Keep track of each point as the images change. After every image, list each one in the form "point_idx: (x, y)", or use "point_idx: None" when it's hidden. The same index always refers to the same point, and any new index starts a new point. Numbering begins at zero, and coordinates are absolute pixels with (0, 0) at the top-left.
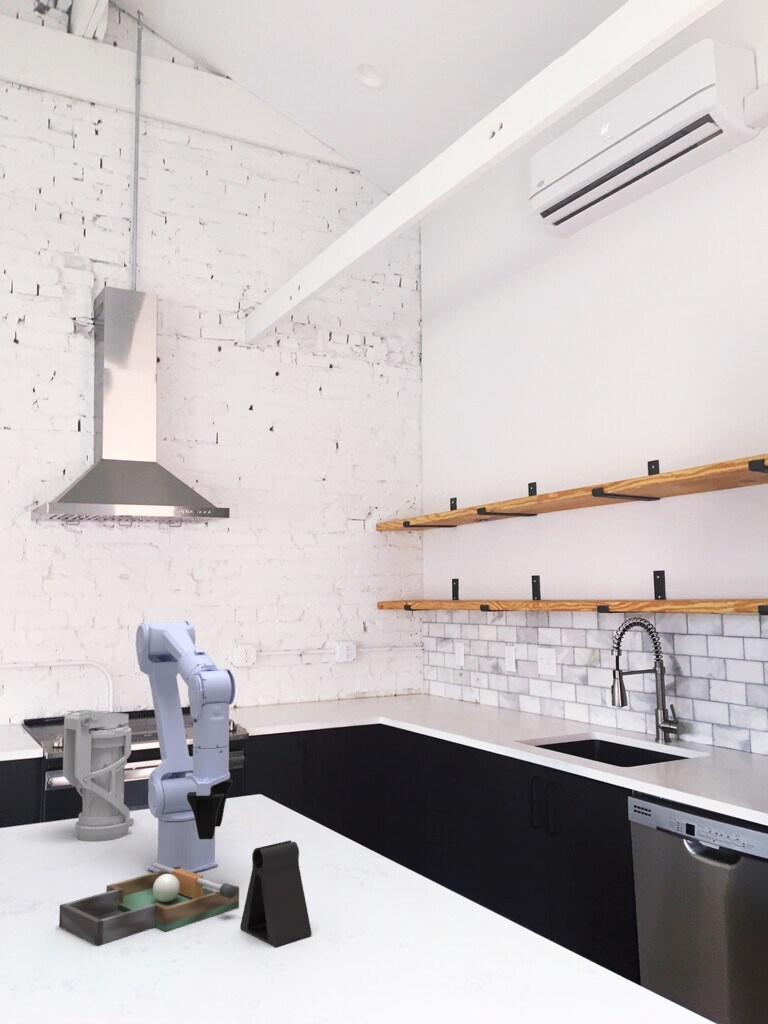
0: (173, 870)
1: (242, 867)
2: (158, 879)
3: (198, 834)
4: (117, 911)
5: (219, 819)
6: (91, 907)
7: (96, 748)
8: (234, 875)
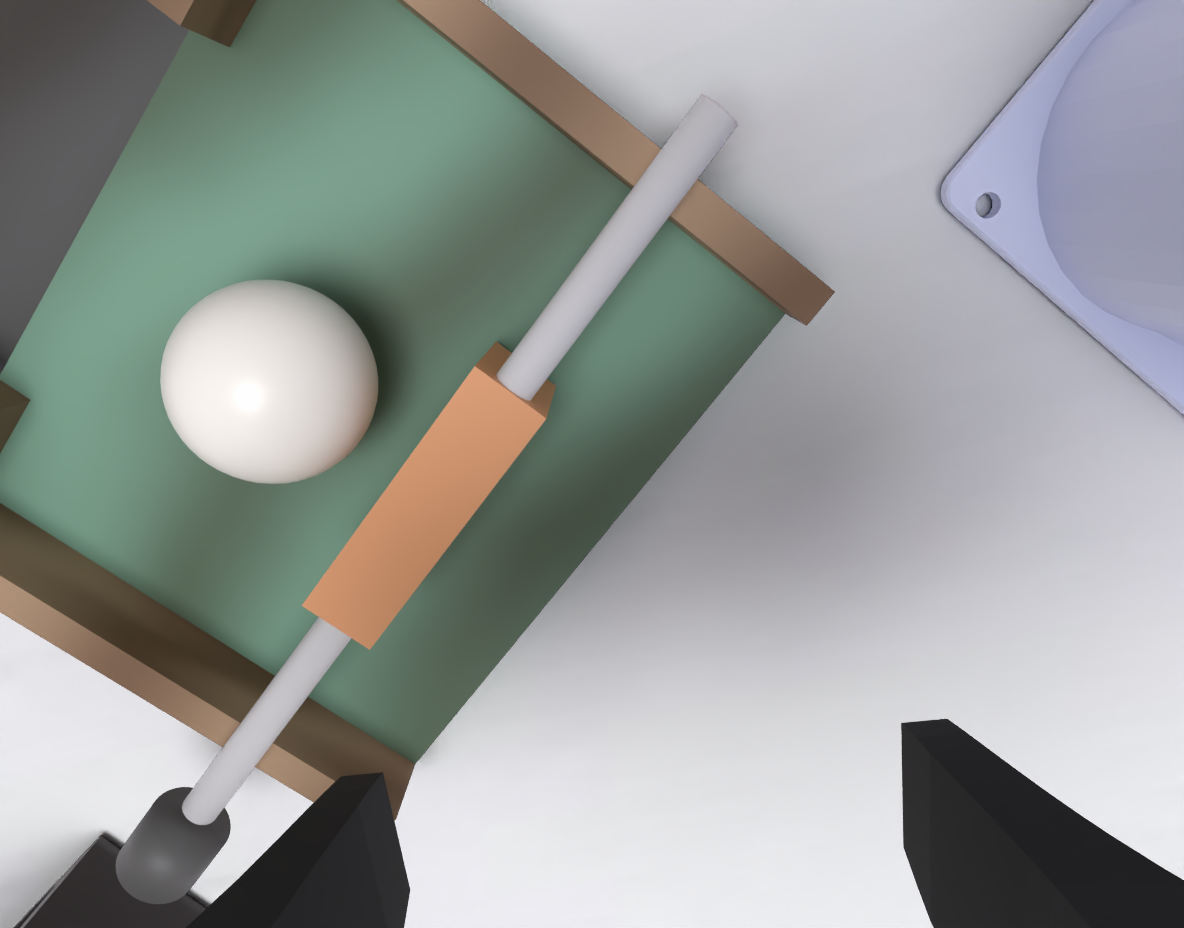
0: (481, 377)
1: (1179, 614)
2: (184, 347)
3: (310, 807)
4: (178, 37)
5: (935, 906)
6: None
7: None
8: (1001, 604)
